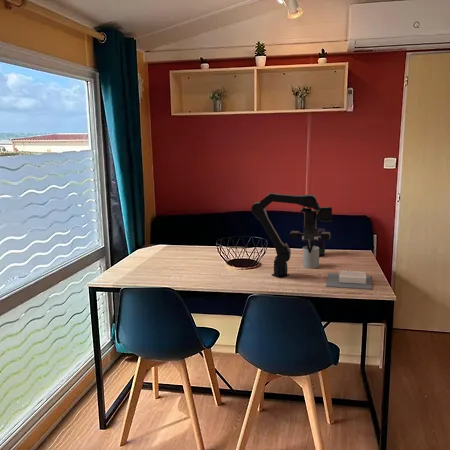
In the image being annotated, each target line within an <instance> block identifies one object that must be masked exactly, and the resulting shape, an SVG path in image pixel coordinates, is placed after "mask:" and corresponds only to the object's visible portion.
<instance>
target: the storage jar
mask: <svg viewBox="0 0 450 450" xmlns="http://www.w3.org/2000/svg"><path fill="white" fill-rule="evenodd" d="M316 229H318V231H319V234H322V232H326V229H325V228H321V227H316ZM325 241H326V240H323V239H322V238H318V241H315V243H314V245H313V246H316V247H319V258H323V257H325V255H326V254H325V251H326V246H325ZM309 242H310V246H311V239H309Z"/></svg>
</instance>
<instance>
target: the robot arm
mask: <svg viewBox="0 0 450 450" xmlns="http://www.w3.org/2000/svg"><path fill="white" fill-rule="evenodd" d="M273 202H274V203H282V204H283V203H284V204H294V205H299V206H302V208H301V209H300V213H303V216H304V217H303V219H304V220H303V232H300V230H291V231H290V233H289V239H290V240H297V239H298V238H301V241H302V242H304V243H305V246H307V248H308V251H309V253H311V251H312V248H313V245H314V243H315V241H318V238H322V239H323V240H325V241H330V239H331V232H330V231H325V232H322V234H319V231H318V229H316V228H317V220H319V222H333V207H332V206H327V207H326V206H320V204H319V203H318V200H317V197H316V196H315V195H314V194H311V193H308V194H301V195H300V194H299V195H296V194H295V195H294V194H286V193H285V194H283V193H275V192H270V193H268V194H267V195H266V196H265V197H264V198H262V199H261V200H260V201H255V202H254V204H253V205H252V206H251V209H250V210H251V213H252V214H253V215H254V217H255V218H256V219H257V220H258V221H259V222H260V224H261V225H262V227H263V228H264V230H265V232H266V233H267V236H268V237H269V239H270V241H271V242H272V244H273V246H274V249H275V253H276V256H275V258H274V260H273V273H271V276H273V277H277V278H280V279H282V278H286V277H289V276H290V274H289V273H288V262H289V260H290V259H291V254H292V253H291V252H292V251H291V250H292V249H291V248H290V247H289V244H288V243H287V242H286V243H284V242H283V241H282V240H281V238H280V235H279V234H278V232H277V231H276V229H275V228H274V225H273V224H272V221H271V220H270V219H269V216H268V212H267V210H266V207H268V206H269V205H270V204H271V203H273ZM309 239H311V246H310V242H309Z"/></svg>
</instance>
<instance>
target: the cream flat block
mask: <svg viewBox="0 0 450 450" xmlns="http://www.w3.org/2000/svg"><path fill="white" fill-rule="evenodd" d="M338 273H339V283H348V284H365V285H366V275H367V274H366V271H357V270H354V271H353V270H339V271H338Z"/></svg>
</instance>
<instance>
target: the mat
mask: <svg viewBox="0 0 450 450" xmlns="http://www.w3.org/2000/svg"><path fill="white" fill-rule="evenodd" d="M371 277H372V275H371V274H366V285H365V284H348V283H339V272H338V273H337V272H328V273H327V277H326V282H325V283H326V284H325V287H326V288H338V289H340V288H341V289H356V290H369V291H370V290H373V285H372V278H371Z"/></svg>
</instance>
